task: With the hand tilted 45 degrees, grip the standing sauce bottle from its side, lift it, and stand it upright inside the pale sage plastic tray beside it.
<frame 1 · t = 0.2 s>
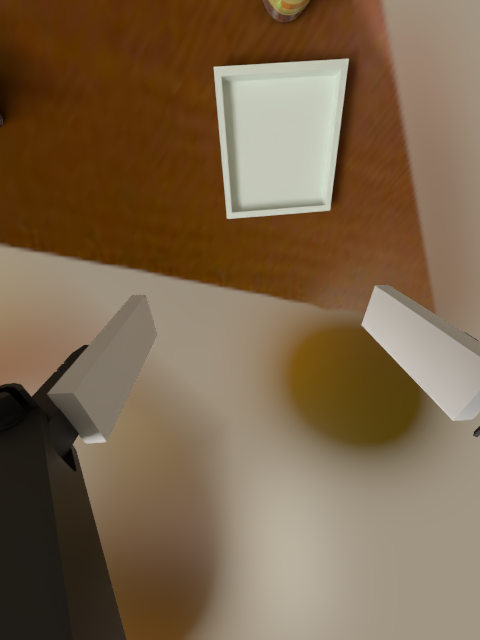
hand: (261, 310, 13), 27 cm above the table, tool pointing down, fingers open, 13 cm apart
tray: (276, 152, 31), on the table
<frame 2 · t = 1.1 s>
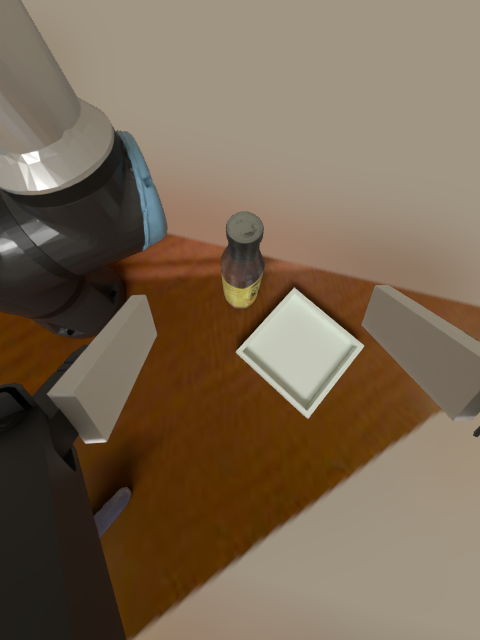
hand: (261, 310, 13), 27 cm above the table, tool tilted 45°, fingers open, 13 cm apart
sauce bottle: (240, 294, 42), on the table
tray: (296, 349, 39), on the table
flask: (108, 511, 34), on the table
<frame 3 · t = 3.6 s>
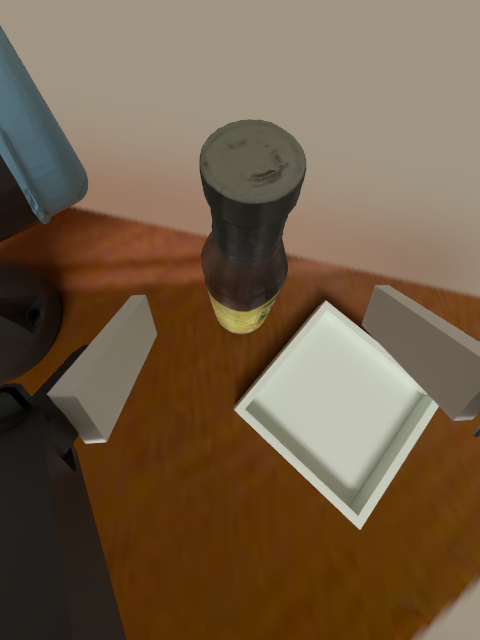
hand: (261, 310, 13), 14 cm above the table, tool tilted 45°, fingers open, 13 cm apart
sauce bottle: (240, 310, 27), on the table
tray: (330, 399, 25), on the table
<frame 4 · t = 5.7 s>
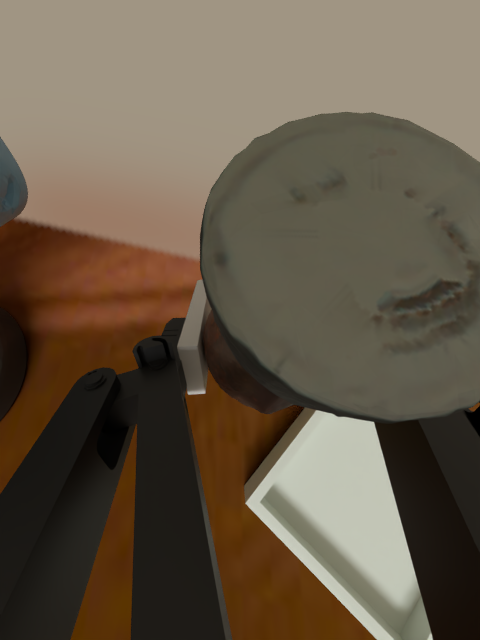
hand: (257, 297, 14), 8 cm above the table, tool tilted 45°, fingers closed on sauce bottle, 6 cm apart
sauce bottle: (251, 357, 22), on the table, touching gripper
tray: (367, 477, 19), on the table
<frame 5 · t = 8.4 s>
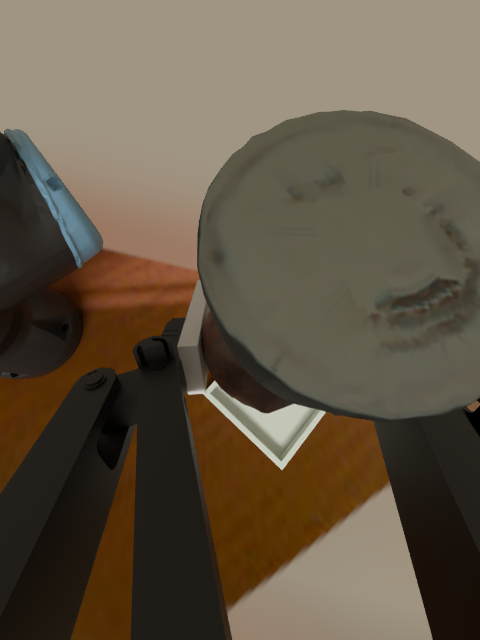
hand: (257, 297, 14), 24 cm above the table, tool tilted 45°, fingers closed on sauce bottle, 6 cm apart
sauce bottle: (251, 357, 22), point 15 cm above the table, touching gripper
tray: (272, 387, 36), on the table
when the fingers open (11 cm above the table, at t = 11.4 s): sauce bottle drops 1 cm, resting on tray.
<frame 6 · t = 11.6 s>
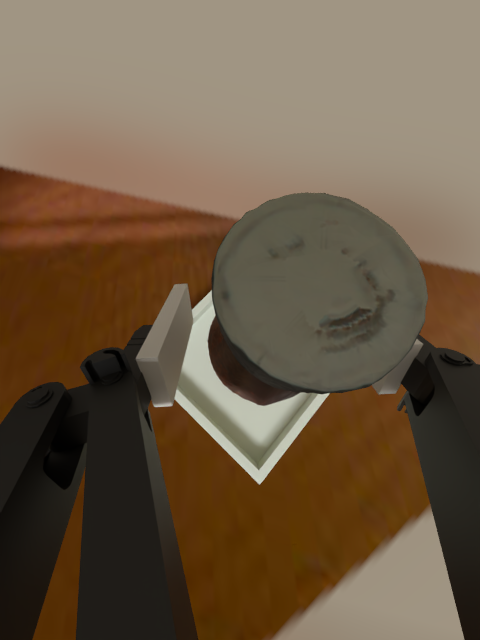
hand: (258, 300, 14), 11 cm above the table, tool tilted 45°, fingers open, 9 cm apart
sauce bottle: (251, 358, 23), point 1 cm above the table, touching tray
tray: (250, 358, 24), on the table
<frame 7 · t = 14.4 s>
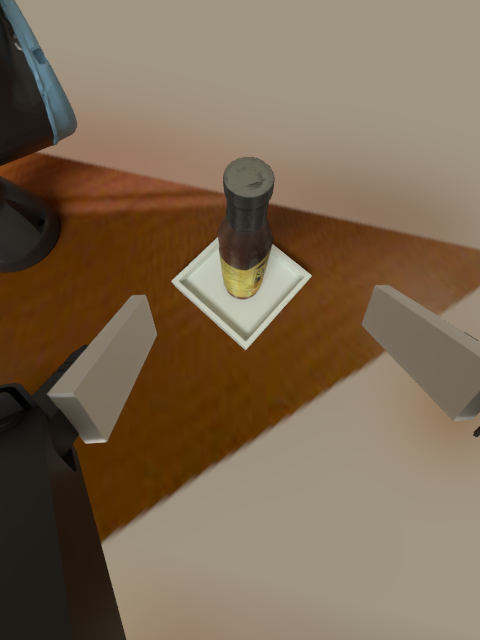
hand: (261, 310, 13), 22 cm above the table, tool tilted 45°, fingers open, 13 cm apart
sauce bottle: (242, 282, 36), point 1 cm above the table, touching tray
tray: (241, 284, 37), on the table
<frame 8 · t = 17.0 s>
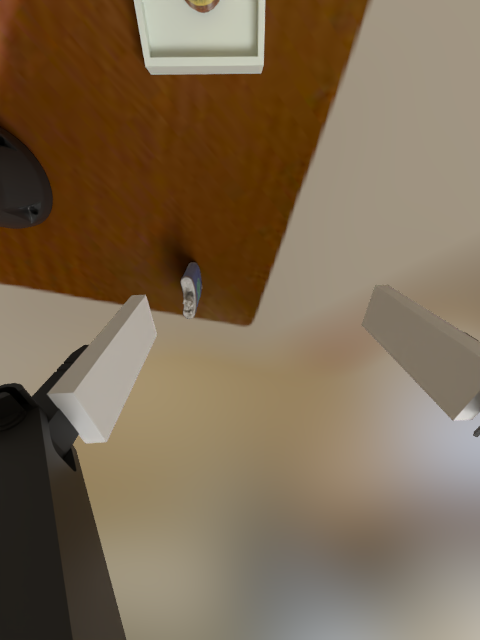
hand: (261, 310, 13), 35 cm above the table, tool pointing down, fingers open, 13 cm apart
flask: (195, 281, 48), on the table
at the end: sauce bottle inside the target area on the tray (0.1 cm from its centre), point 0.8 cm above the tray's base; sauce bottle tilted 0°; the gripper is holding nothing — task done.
